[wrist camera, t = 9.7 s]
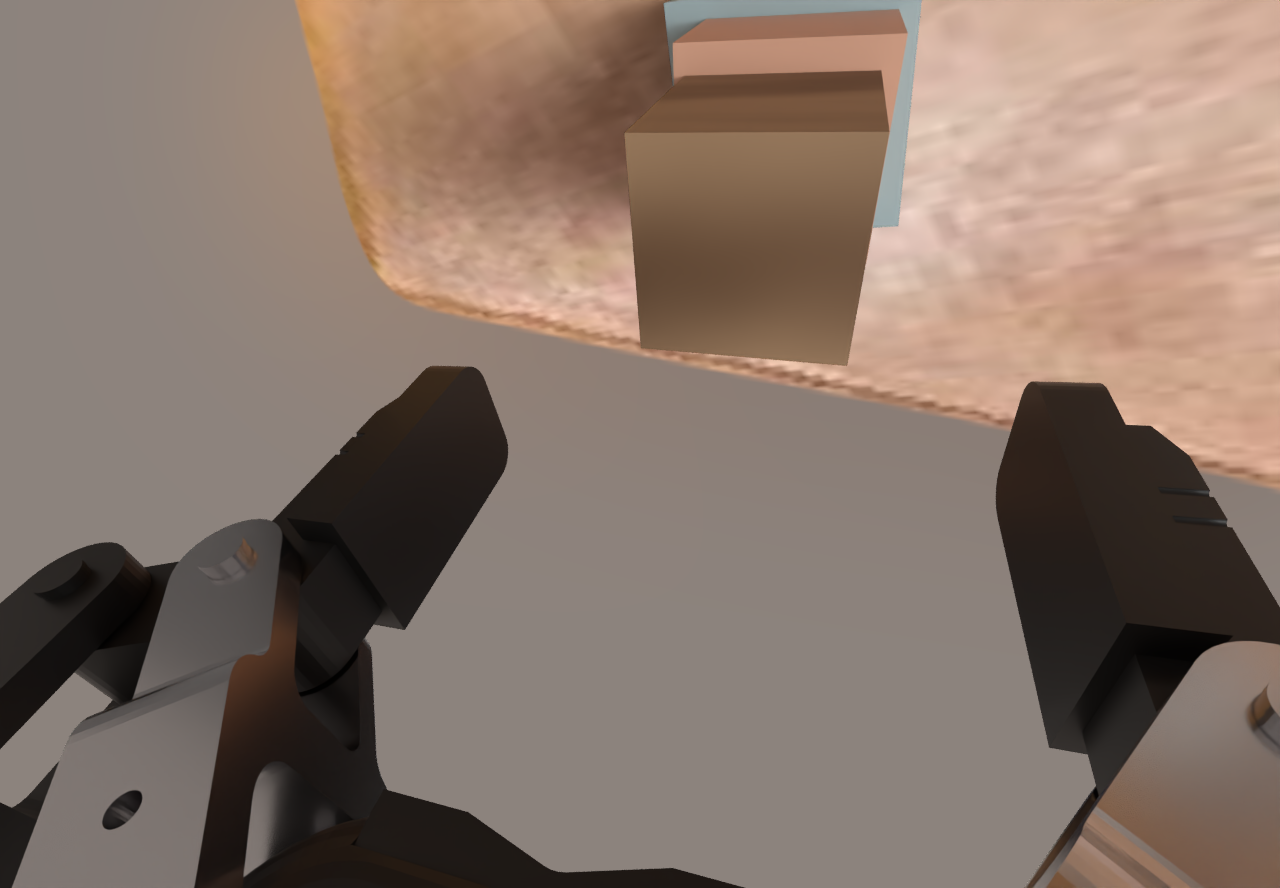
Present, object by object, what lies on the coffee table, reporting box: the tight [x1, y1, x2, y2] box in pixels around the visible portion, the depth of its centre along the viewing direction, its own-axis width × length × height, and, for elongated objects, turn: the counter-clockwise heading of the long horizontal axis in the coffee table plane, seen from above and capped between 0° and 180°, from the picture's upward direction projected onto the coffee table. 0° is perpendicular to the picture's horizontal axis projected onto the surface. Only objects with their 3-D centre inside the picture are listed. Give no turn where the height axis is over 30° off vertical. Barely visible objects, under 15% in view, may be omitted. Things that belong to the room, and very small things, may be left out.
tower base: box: [664, 0, 922, 228], centre depth 23 cm, size 8×8×4 cm
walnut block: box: [624, 70, 890, 366], centre depth 16 cm, size 5×5×6 cm
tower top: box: [673, 9, 908, 261], centre depth 20 cm, size 6×6×5 cm
